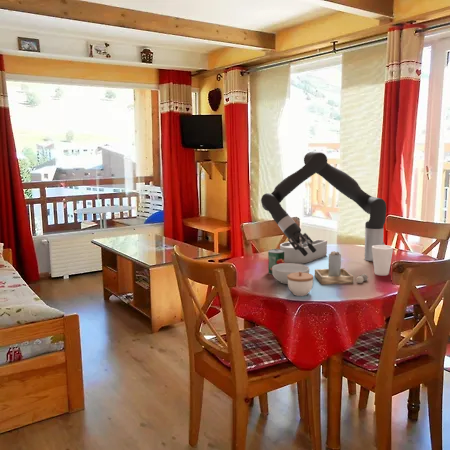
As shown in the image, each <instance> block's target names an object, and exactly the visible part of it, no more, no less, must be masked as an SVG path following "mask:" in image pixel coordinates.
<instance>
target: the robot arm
mask: <svg viewBox="0 0 450 450" xmlns="http://www.w3.org/2000/svg"><path fill="white" fill-rule="evenodd" d="M303 163H304V165H303V166H302V167H301V168H299V169H298V170H296V171H295V172H293V173H291V174H290V175H288V176H287V177H285V178H284V179H283V180H282V181H280V182H279V183H278V184H277V185H276V186H275V187H274V189H273V191H272V192H271V193H269V192H268V193H264V194H263V195H262V196H261V199H260V203H261V207H262V208H263V210H265V211H267V212H268V213H269V214H270V215H271V218H272V219H273V221H274V222H275V224H277V226H278V227H279V228H280V230H281V231H282V233H284V235H285V237H287V239H288V242H290V244H291V245H292V246H293V248H294V249H295V250H299V251H300V252H301V253H302V254H303V255H304V256H306V255H307V254H308V253H307V251H306V250H305V249H304V248H302V244H303V245H306V246H308V248H309V249H310V250H311V251H312V252H313V253H314V252H315V251H316V249H315V247H314V246H313V245H312V243H313V241H314V240H312V239H311V237H310V236H309V235H308V234H307V233H306V232H304V233H301V232H302V228H301V227H300V225H298V224H297V223H296V221H295V220H294V219H293V217H291V215H289V213H287V211H286V210H285V209H284V208H283V207H282V205H281V202H282V201H283V200H284V199H285V198H286V197H287V196H288V195H290V194H291V193H292V192H293V191H295V189H297V188H298V187H299V186H301V184H303V183H304V182H305V181H306V180H308V179H309V178H311V177H312V176H314V175H315V174H317V175H318V176H320V177H321V178H323V179H324V180H325V181H327V183H329V185H331V186H332V187H333V188H335V189H336V190H337V191H339V192H340V193H341V194H343V196H346V197H347V198H348V199H349V200H352V201H353V202H354V203H355V204H357V206H358V207H360V208H361V209H362V210H363V212H365V213H366V214H368V215H369V220H367V221H365V224H364V225H365V227H364V229H365V231H364V261H368V262H369V261H370V262H373V255H372V246H374V245H385V242H384V229H385V228H384V227H385V223H386V220H387V219H386V218H387V202H386V201H385V200H384V199H383V198H380V197H376V196H373V195H370V194H369V193H367V192H365V191H364V190H363V189H362V188H361V186H360V184H359V183H358V182H357V181H356V179H354V178H353V177H352V176H350V175H349V174H348V173H346V172H344V171H342V170H341V169H338V168H336V167H335V166H333V165H331V164H330V163H328V157H327V155H326V154H325V153H324V152H321V151H309V152H307V153H306V154H305V155H304V157H303ZM308 239H309V240H310V241H309V240H308ZM295 245H296V247H295Z"/></svg>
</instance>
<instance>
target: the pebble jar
mask: <svg viewBox="0 0 450 450" xmlns="http://www.w3.org/2000/svg"><path fill="white" fill-rule="evenodd" d="M341 256H342V255H341V253H340V252H339V251H336V250H335V251H334V250H332V251H331V252H330V253H329V254H328V269H329V271H328V277H334V276H341V266H342V261H341V260H342V257H341Z"/></svg>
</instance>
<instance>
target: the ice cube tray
mask: <svg viewBox="0 0 450 450" xmlns="http://www.w3.org/2000/svg"><path fill="white" fill-rule="evenodd" d="M308 240H309V239H308ZM309 241H310V240H309ZM312 241H313V243H312V245H313V246H314V247H315V249H316V251H315V252H314V253H313V252H312V251H311V250H310V249H309V248H308V246H306V245H303V244H302V248H304V249H305V250H306V251H307V253H308V254H307V255H306V256H304V255H303V254H302V253H301V252H300V251H299V250H295V249H294V248H293V246H292V245H291V244H290V242H289V241H285V242H282V243H280V245H279V249H281V250H284V263H294V264H306V263H310V262H312V261H315V260H318V259H320V258H323V257H326V256H327V254H328V253H327V252H328V249H327V247H328V240H324V239H314V240H312ZM295 247H296V245H295Z"/></svg>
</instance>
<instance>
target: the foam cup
mask: <svg viewBox="0 0 450 450" xmlns="http://www.w3.org/2000/svg"><path fill="white" fill-rule="evenodd" d="M393 254H394V246H392V245H389V244H388V245H386V244H384V245H374V246H372V255H373V261H372V262H373V263H372V265H373V271H374V274H375V275H376V276H388V275H389V274H390V268H391V262H392V257H393Z"/></svg>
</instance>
